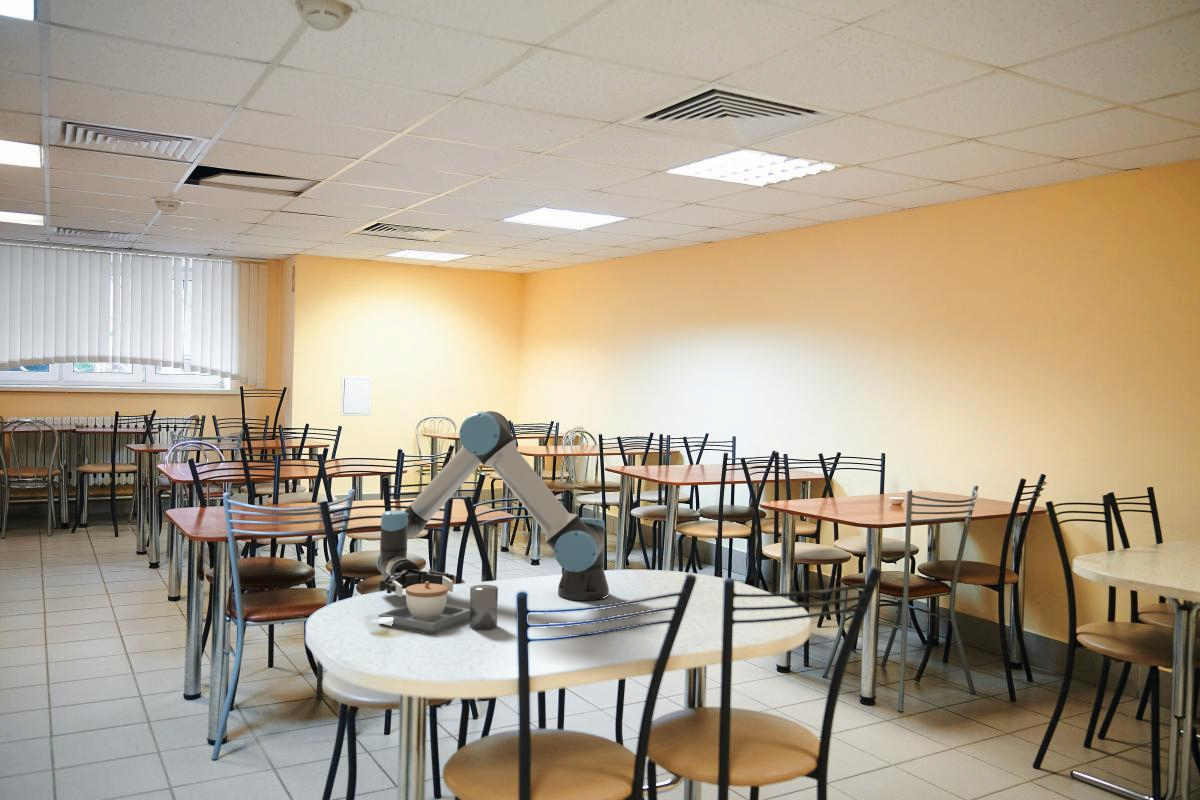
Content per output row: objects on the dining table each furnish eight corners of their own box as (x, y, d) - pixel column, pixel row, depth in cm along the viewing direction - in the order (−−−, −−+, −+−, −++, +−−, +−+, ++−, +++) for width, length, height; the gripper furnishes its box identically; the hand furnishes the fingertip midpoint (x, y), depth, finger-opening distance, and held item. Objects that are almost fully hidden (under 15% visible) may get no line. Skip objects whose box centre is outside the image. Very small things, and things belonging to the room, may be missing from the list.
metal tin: (502, 625, 226) (503, 587, 226) (486, 632, 220) (487, 592, 220) (479, 621, 229) (480, 583, 229) (463, 627, 223) (464, 588, 223)
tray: (472, 618, 232) (472, 609, 232) (432, 634, 216) (432, 624, 216) (420, 609, 239) (420, 600, 239) (378, 624, 224) (378, 614, 224)
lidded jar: (451, 613, 233) (452, 578, 233) (440, 624, 222) (441, 587, 222) (412, 611, 234) (413, 576, 234) (399, 622, 223) (400, 585, 223)
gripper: (445, 582, 252) (471, 598, 234) (357, 589, 240) (378, 608, 221) (446, 555, 252) (472, 570, 233) (358, 562, 240) (378, 578, 221)
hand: (426, 588), depth 227 cm, fingers open, 13 cm apart
